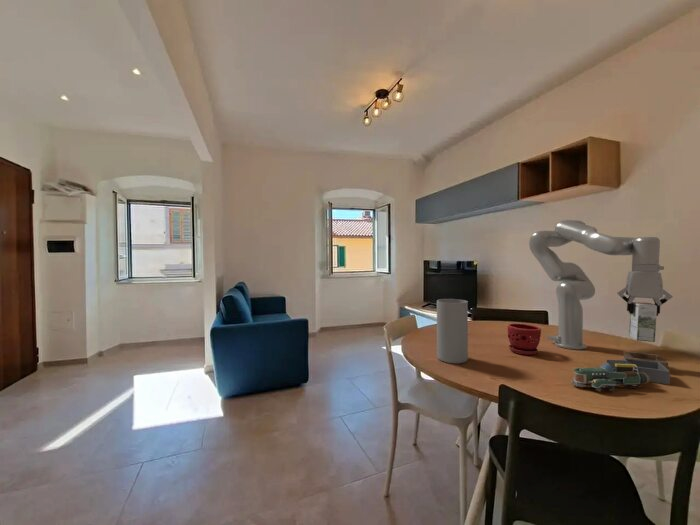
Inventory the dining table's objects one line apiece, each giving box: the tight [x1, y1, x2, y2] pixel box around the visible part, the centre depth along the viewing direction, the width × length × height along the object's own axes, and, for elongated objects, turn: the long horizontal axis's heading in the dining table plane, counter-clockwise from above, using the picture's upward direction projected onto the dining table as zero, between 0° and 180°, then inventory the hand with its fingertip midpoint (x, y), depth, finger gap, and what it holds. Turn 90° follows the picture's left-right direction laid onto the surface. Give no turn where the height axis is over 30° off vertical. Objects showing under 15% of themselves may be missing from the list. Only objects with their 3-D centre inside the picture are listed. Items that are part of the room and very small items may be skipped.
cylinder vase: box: [436, 298, 469, 365], centre depth 129 cm, size 12×12×25 cm
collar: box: [623, 350, 669, 370], centre depth 118 cm, size 10×10×4 cm
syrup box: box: [628, 301, 657, 343], centre depth 119 cm, size 6×6×14 cm
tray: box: [621, 357, 671, 386], centre depth 109 cm, size 10×10×4 cm
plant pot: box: [507, 323, 542, 356], centre depth 138 cm, size 13×13×12 cm
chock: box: [606, 359, 637, 372], centre depth 107 cm, size 6×5×6 cm
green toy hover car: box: [570, 362, 650, 393], centre depth 101 cm, size 10×25×8 cm, turn 89°
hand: (642, 313), depth 119 cm, fingers closed on syrup box, 6 cm apart
